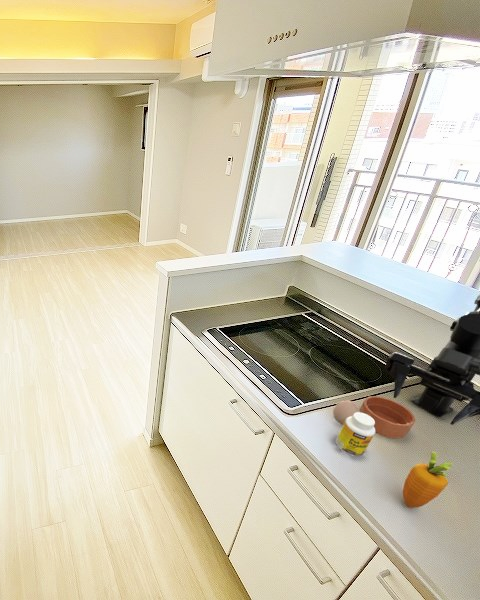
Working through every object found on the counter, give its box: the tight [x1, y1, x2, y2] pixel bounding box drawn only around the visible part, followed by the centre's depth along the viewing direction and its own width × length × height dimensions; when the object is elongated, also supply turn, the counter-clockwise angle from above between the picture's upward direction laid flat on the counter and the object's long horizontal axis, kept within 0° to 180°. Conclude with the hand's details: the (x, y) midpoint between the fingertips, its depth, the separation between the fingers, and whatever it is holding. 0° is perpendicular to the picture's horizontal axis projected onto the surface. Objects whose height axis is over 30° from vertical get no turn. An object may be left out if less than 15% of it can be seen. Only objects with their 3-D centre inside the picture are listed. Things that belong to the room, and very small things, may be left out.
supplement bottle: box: [335, 412, 376, 457], centre depth 79 cm, size 6×6×10 cm
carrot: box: [402, 451, 454, 509], centre depth 65 cm, size 5×5×15 cm
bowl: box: [359, 395, 416, 439], centre depth 86 cm, size 10×10×5 cm
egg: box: [332, 400, 360, 426], centre depth 86 cm, size 5×5×7 cm
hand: (421, 409), depth 70 cm, fingers open, 9 cm apart
